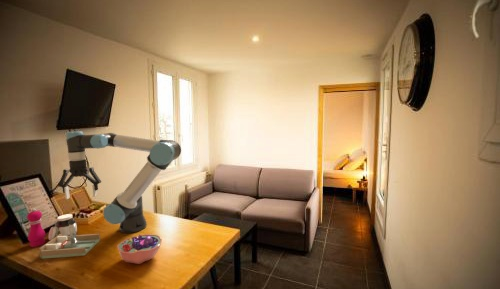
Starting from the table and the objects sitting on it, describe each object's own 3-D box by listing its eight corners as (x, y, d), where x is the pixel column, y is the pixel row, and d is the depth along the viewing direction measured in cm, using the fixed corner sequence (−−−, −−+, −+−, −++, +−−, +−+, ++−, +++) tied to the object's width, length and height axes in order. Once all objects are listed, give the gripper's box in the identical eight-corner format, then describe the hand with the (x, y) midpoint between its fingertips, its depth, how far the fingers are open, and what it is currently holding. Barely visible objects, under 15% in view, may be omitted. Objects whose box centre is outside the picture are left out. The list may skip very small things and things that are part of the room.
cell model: (129, 249, 121) (128, 228, 119) (168, 249, 120) (167, 228, 119) (109, 270, 104) (107, 246, 103) (153, 271, 103) (152, 246, 102)
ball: (60, 240, 122) (55, 245, 122) (55, 243, 119) (50, 248, 119) (66, 244, 123) (61, 249, 123) (61, 247, 119) (56, 253, 119)
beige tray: (100, 240, 131) (99, 231, 130) (84, 255, 116) (83, 245, 115) (61, 242, 128) (60, 233, 128) (40, 258, 113) (39, 248, 113)
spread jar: (79, 233, 139) (78, 214, 138) (60, 243, 128) (57, 222, 127) (64, 231, 142) (62, 212, 141) (43, 240, 131) (41, 220, 130)
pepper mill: (35, 248, 123) (31, 211, 121) (24, 246, 124) (20, 210, 122) (49, 241, 130) (46, 206, 128) (39, 240, 131) (35, 205, 129)
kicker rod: (80, 243, 124) (78, 217, 123) (75, 247, 120) (73, 220, 119) (66, 244, 123) (63, 218, 122) (61, 248, 119) (58, 221, 118)
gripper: (105, 157, 134) (108, 193, 136) (55, 160, 129) (59, 197, 131) (99, 159, 127) (103, 197, 129) (46, 162, 121) (51, 201, 124)
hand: (81, 197), depth 130 cm, fingers open, 13 cm apart
